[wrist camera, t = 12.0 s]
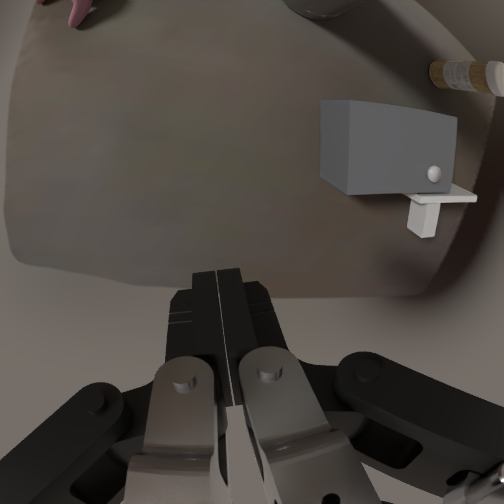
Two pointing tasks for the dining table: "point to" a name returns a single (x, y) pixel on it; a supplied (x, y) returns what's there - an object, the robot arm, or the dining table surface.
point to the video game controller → (76, 11)
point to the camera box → (385, 148)
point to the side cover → (432, 208)
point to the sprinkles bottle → (469, 76)
